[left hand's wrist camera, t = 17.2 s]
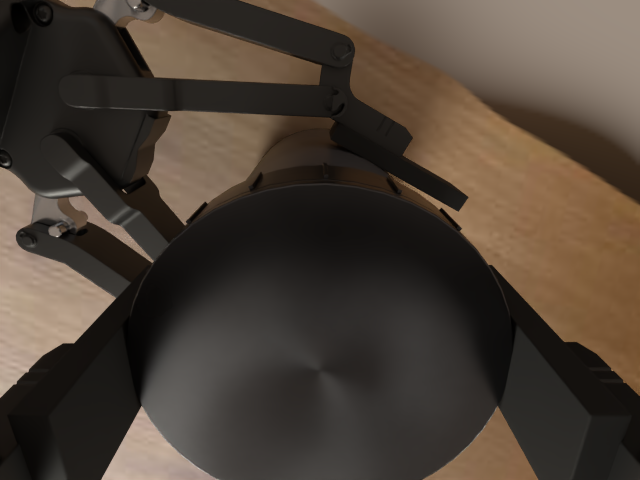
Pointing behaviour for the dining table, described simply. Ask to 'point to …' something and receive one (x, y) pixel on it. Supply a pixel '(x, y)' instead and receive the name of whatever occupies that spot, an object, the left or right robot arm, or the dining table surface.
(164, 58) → the dining table surface
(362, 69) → the dining table surface
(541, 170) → the dining table surface
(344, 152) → the jar
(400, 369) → the lid
